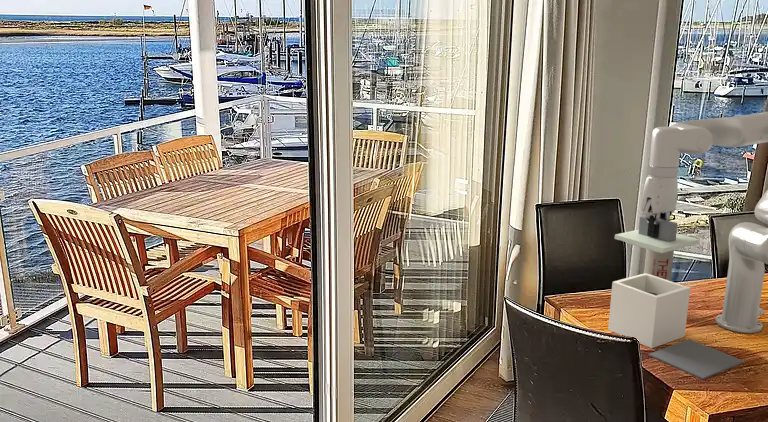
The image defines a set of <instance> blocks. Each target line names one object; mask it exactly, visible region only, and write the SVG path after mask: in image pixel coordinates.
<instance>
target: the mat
mask: <svg viewBox="0 0 768 422" xmlns="http://www.w3.org/2000/svg"><path fill="white" fill-rule="evenodd" d="M648 356H649V357H650V358H653V359H656V360H658V361H660V362H662V363H664V364H667V365H668V366H671V367H673V368H676V369H678V370H680V371H682V372H685V373H687V374H689V375H691V376H693V377H697V378H698V379H701V380H705V379H707V378H710V377H712V376H715V375H716V374H719V373H721V372H724V371H726V370H729V369H731V368H734V367H736V366H737V365H740V364H742V363H744V360H742V359H740V358H737V357H735V356H733V355H730V354H727V353H726V352H722V351H719V350H717V349H715V348H712V347H710V346H707V345H705V344H703V343H700V342H697V341H696V340H692V339H690V338H689V339H687V340H683V341H681V342H679V343H676V344H673V345H670V346H666V347H664V348H661V349H659V350H655V351H653V352H651V353H648Z"/></svg>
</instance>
